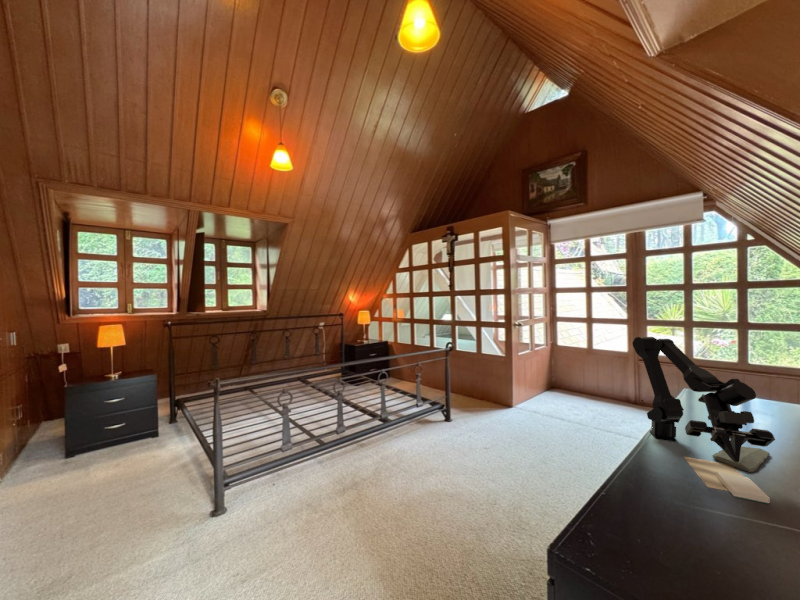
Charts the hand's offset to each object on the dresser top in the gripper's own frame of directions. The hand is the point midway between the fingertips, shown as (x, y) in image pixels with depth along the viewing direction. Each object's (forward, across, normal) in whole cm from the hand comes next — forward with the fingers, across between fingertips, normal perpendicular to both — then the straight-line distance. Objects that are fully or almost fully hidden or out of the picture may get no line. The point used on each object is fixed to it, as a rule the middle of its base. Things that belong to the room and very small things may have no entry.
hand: (736, 461), depth 92 cm
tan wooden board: (+2, -2, +8) cm, 8 cm away
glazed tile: (+2, 0, +6) cm, 6 cm away
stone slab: (-10, +10, +20) cm, 24 cm away
